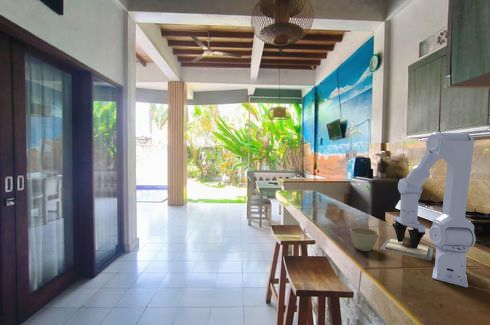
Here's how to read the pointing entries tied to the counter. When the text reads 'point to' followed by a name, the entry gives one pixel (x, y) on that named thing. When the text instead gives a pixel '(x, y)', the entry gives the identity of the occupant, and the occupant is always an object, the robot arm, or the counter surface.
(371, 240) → the beige bowl
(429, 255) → the mat
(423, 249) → the lid
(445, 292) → the counter surface
